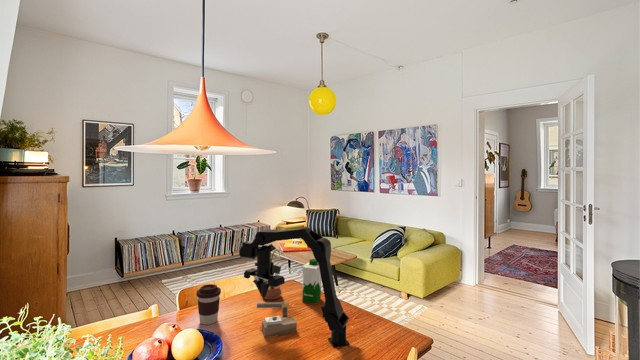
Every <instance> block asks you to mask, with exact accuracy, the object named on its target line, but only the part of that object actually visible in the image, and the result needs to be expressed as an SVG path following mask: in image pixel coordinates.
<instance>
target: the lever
mask: <svg viewBox="0 0 640 360" xmlns="http://www.w3.org/2000/svg"><path fill="white" fill-rule="evenodd" d="M256 308H257V309H265V308H270V309H273V308H277V309H278V308H279V309H280V308H281V309H282V308H284V309H285V308H288V309H289V308H290V302H289V301H285V300H284V301H279V302H273V301H272V302H257V303H256Z"/></svg>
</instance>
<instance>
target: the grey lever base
mask: <svg viewBox="0 0 640 360" xmlns="http://www.w3.org/2000/svg"><path fill="white" fill-rule="evenodd" d="M281 309H282V310H281V311H282V316H281V317H280V318H281V320H282V324H279V325H273V326H266V323H265V320H261V333H262V335H263V338H264V339H266V338H267V339H268V338H272V337H277V336H279V337H280V336H284V335H289V334H295V333H296V334H297V333H298V331H297V330H298V328H297V327H298V326H297V325H298V324H297V323H298V322H297V321H296V319H295V318H294V316H288V314H289V313H288V309H289V308H285V309H284V308H281Z"/></svg>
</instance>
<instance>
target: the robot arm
mask: <svg viewBox="0 0 640 360" xmlns="http://www.w3.org/2000/svg"><path fill="white" fill-rule="evenodd" d="M296 239H297V240H299V239H301V240H302V241H303V243H304V244H305V245H306V246H307V247H308V248H309V249H310V250H311V252H312V254H313V259H316V261H317V264H319V269H320V274H321V286H322V290H323V291H322V292H323V296H324V300H325V301H324V303H323V304H322V305H321V306H320V307H321V308H320V309H321V312H322V318H323V319H324V321H325V323H326V324H327V326H328V330H329V331H330V333H331V334H330V337H327V341H328V342H329V344H331V346H332V347H333V348H334V349H335V348H336V349H337V348H341V347H345V346H349V345H350V342H349V341H348V340H347V324H348V322H349V319H350V317H349V316H348V315H347V313H346V312H345V311H344V308H343V305H342V303H341V300H340V299H339V298H338V296H337V292H336V291H337V290H336V287H335V281H334V276H333V271H332V270H333V269H332V264H331V255H332V244H331V241H330V240H329V239H328V238H326V237H323V235H321V234H319V233H317V232H315V231H314V230H312V229H311V228H310V227H308V226H305V227H302V228H301V227H299V228H292V229H282V230H276V229H273V228H272V229H271V228H270V229H269V228H266V229H263V230H260V231H257V232H256V234H255V235H254V238H253V240H252V241H251V242H249V241H243V242H242V243H241V244H242V245H240V247H239V248H240V249H239V251H238V253H239V257H240V258H242V259H249V260H255V259H256V262H255V263H254V266H255V267H256V268H254V267H253V268H250V269H246V270H244V272H243V278H245V279H250V278H251V276H252V277H253V279H254V280H253V281H252V282H253V283H254V285H255V286H256V288H257V290H258V292H259V294H260V296H261V298H263V299H265V298H264V297H265V296H266V293H267V291H268V288H269V286H273V287H277V286H279V285H280V286H282V285H284V284H285V283H286V282H285V281H286V280H285V277H284V276H282V275H280V273H281V269H282V266H281V265H276V264H273V263H274V262H273V261H272V262H271V257H272V252H274V251H275V249H277V248H276V247H275V246H274V245H273V244H272V243H274V242H278V241H279V242H280V241H287V240H296ZM275 273H278V274H277V275H276V274H275ZM271 275H274V276H271Z"/></svg>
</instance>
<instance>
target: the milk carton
mask: <svg viewBox="0 0 640 360" xmlns="http://www.w3.org/2000/svg"><path fill="white" fill-rule="evenodd" d="M301 269H302V303H304V304H311V305H316V304H317V303H318V302H319V301H320V300H321V298H322V297H321V296H322V295H321V294H322V280H321V274H320V269H319V264H318V262H317V261H316V259H315V258H312V259H309V262H307V263H305V264H303V266H301Z"/></svg>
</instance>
